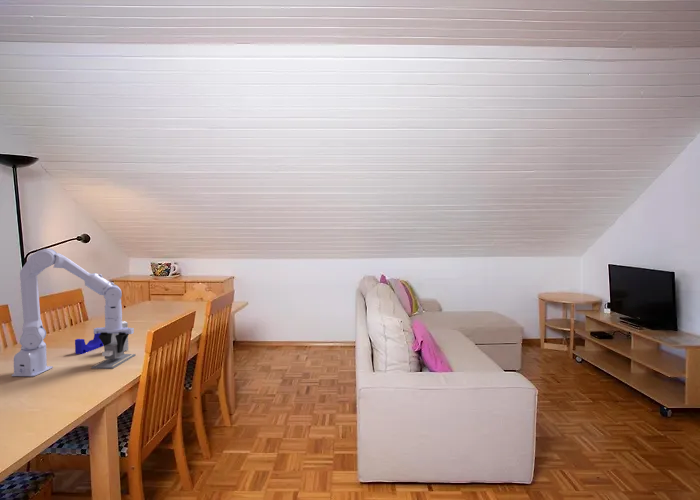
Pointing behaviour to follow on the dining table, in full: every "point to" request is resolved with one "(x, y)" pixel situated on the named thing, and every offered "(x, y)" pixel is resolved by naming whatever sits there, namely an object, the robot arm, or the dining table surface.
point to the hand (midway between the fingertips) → (114, 352)
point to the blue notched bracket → (91, 345)
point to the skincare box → (113, 338)
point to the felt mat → (113, 362)
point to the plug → (112, 351)
